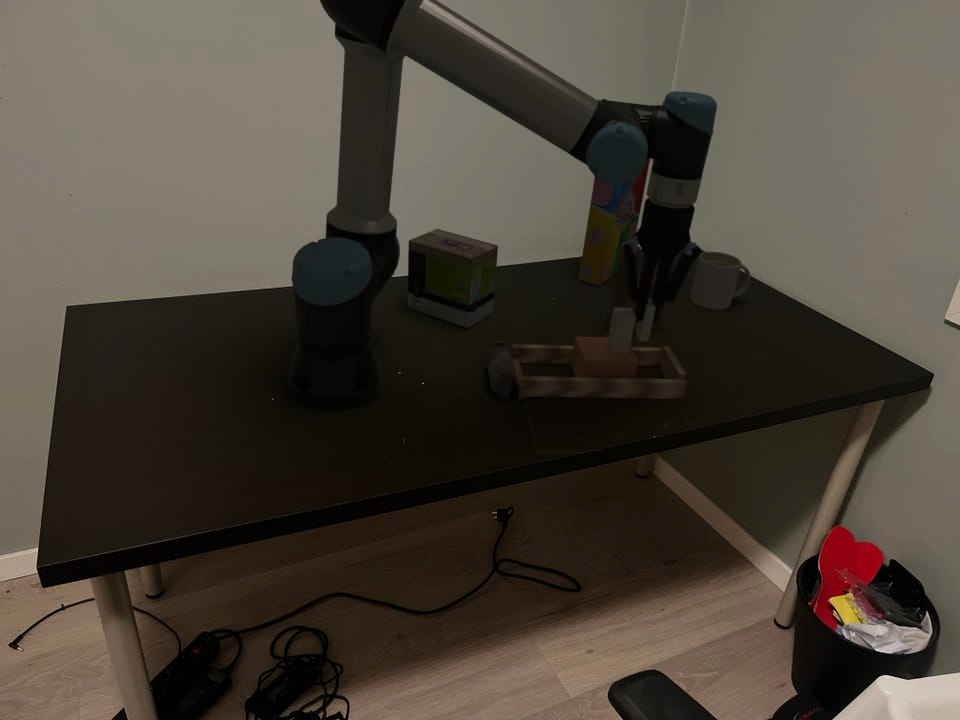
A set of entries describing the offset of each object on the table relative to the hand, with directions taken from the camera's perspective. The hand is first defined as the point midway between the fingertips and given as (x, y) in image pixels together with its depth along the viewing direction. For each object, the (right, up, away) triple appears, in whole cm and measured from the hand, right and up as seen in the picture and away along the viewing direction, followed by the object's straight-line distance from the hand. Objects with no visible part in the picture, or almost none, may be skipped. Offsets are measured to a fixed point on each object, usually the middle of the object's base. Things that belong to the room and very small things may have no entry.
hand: (641, 337), depth 120 cm
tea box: (-33, +6, +25) cm, 42 cm away
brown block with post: (-6, -7, +4) cm, 10 cm away
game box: (+3, +17, +49) cm, 52 cm away
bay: (-10, -8, +4) cm, 13 cm away
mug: (+25, +9, +38) cm, 46 cm away
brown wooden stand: (+3, +2, +22) cm, 23 cm away
